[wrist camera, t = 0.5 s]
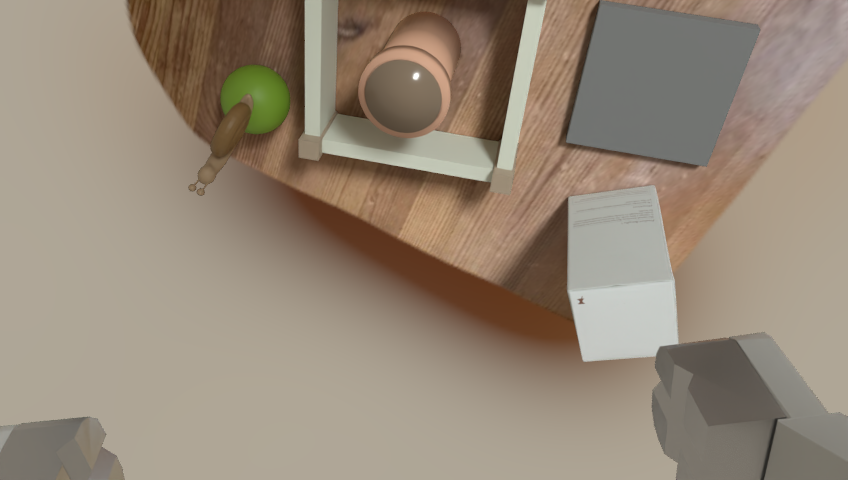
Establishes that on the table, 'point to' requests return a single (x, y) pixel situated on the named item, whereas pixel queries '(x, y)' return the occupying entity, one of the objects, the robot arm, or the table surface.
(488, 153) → the raised garden bed frame
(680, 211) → the table surface
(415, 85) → the terracotta pot
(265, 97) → the snail figurine
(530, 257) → the table surface
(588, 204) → the supplement box
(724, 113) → the rubber mat
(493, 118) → the table surface
